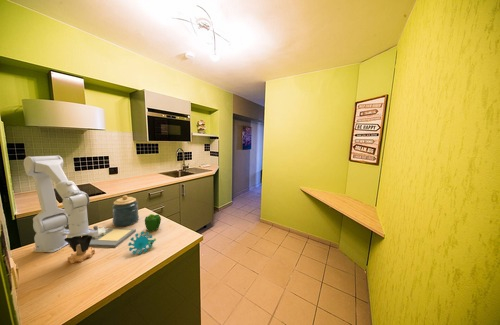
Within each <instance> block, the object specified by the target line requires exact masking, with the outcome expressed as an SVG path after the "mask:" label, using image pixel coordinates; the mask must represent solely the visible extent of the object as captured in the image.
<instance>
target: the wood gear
mask: <svg viewBox="0 0 500 325" xmlns="http://www.w3.org/2000/svg"><path fill="white" fill-rule="evenodd" d="M95 253H96V251H95V248H93V247H91V246H89V248H88V250H86V251H85V252H82V250H81V246H80V244H78V245H77V246H76V252H74V251H73V252H71V253H70V256H68V257H67V262H70V263H69V264H74V263H76V262H77V263H78V262H79V263H81V262H83V261H84V260H86V259H87V258H92V257H93V254H95Z"/></svg>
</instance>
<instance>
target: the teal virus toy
mask: <svg viewBox="0 0 500 325" xmlns="http://www.w3.org/2000/svg"><path fill="white" fill-rule="evenodd" d="M134 235H135V237H136V239H135V238H134V237H131V238H130V241H132V242H133V243H132V242H129V243H128V244H127V246H128V249H129V252H132V254H133V255H135V254H136V253H137V254H138V255H141V254H142V251H143V252H144V253H146V252H148V249H151V248H152V244H154V243H155V242H156V240H157V239H156V238H153V234H150V233H149V231H147V232H146V233H145V232H144V231H141V232H140V235H139V233H136V234H134ZM152 238H153V239H152ZM130 246H132V247H130ZM147 246H148V249H147ZM134 249H135V250H134ZM132 250H133V251H132ZM137 251H138V252H137Z"/></svg>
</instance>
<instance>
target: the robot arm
mask: <svg viewBox="0 0 500 325" xmlns="http://www.w3.org/2000/svg"><path fill="white" fill-rule="evenodd" d="M23 167H24V171H25V174H26V176H29V177H32V178H33V181H34V185H35V190H36V193H37V198H38V202H39V206H40V212H39V213H38V214H36V215H35V216H33V218H32V222H33V223H32V226H33V227H32V228H33V230H34V232H35V235H34V236H33V237H34V238H33V239H34V245H35V249H34V250H33V252H35V253H36V252H37V253H54V252H57V251H58V250H60V249H63V248H64V247H66V246H68V245H69V246H70V247H71V249H72V251H73V252H76V246H77V245H78V244H80V246H81V250H82V252H85V251H86V250H88V248H89V247H90V246H89V244H90V241H91V239H92V237H95V236H97V235H98V230H93V228H91V227H90V226H89V220H88V216H89V215H88V208H87V206H88V205H89V204H90V201H91V200H90V196H89V195H88V193H86V192H85V191H84V190H83V191H82V190H80V188H79V187H78V185H76V183H75V182H74V181H73V180H69V178H68V177H67V176H66V173H65V172H64V170H63V169H64V159H63V157H61V155H58V154H56V155H39V156H36V155H35V156H26V157H25V158H24V159H23ZM53 182H54V183H55V184H56V185H55V187H54V184H53ZM54 188H55V189H54ZM55 190H56V192H57V194H58V195H59V196H60V197H61V200H62V203H61V204H62V207H63V208H60V207H59V206H58V201H57V198H56V192H55ZM67 226H68V228H66V227H67Z"/></svg>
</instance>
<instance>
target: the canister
mask: <svg viewBox="0 0 500 325" xmlns="http://www.w3.org/2000/svg"><path fill="white" fill-rule="evenodd" d="M138 204H139V201H138V200H137V198H136V197H133V196H128V195H127V194H125V195H122V197H120V198H117V199H116V200H115V201H114V202H113V205H112V206H111V208H112V211H111V212H112V224H113V226H114V227H116V228H123V227H127V226H130V225H134V224H135V223H137V222H139V217H140V216H139V205H138Z"/></svg>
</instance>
